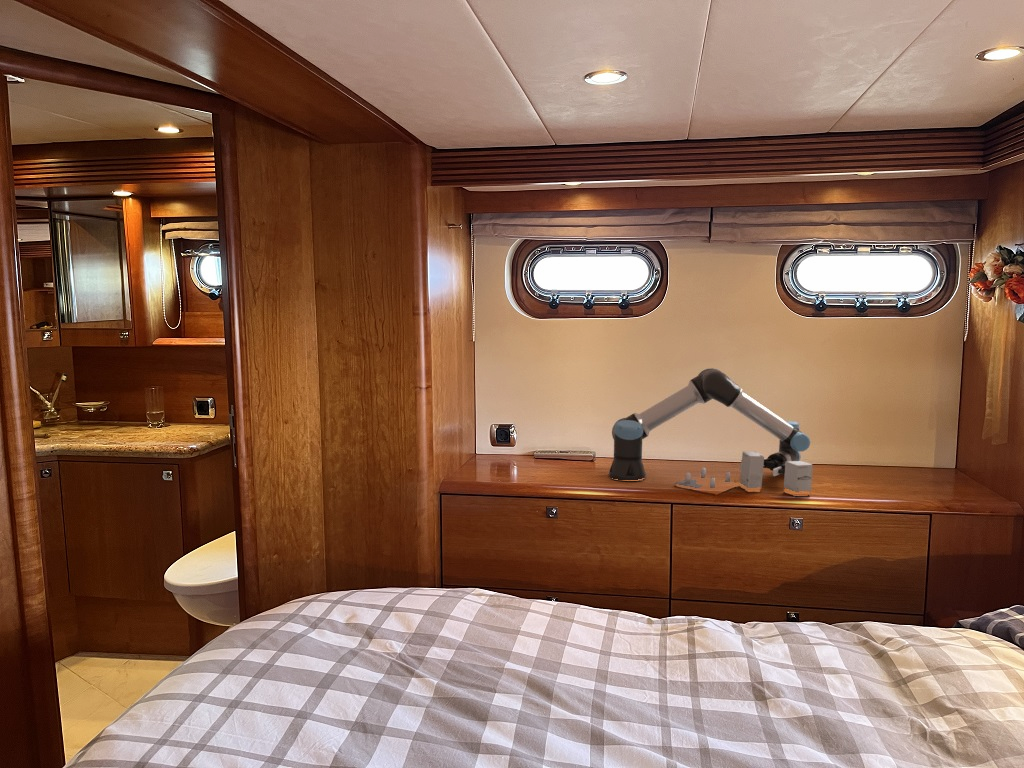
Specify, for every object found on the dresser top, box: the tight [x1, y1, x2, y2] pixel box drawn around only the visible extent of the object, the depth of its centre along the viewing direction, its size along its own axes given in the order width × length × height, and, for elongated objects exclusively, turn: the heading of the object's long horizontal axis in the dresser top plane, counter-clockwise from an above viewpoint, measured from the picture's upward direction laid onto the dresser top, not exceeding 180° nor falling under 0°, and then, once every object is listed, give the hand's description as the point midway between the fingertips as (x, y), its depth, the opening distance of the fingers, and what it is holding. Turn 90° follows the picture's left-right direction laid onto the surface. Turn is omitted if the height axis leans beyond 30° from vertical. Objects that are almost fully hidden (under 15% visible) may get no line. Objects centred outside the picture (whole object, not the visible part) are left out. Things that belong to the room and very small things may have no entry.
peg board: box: [674, 467, 731, 488], centre depth 298 cm, size 18×20×6 cm
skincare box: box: [739, 450, 765, 488], centre depth 293 cm, size 8×6×15 cm
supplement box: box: [783, 460, 814, 492], centre depth 287 cm, size 7×7×13 cm
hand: (756, 469), depth 295 cm, fingers open, 13 cm apart
